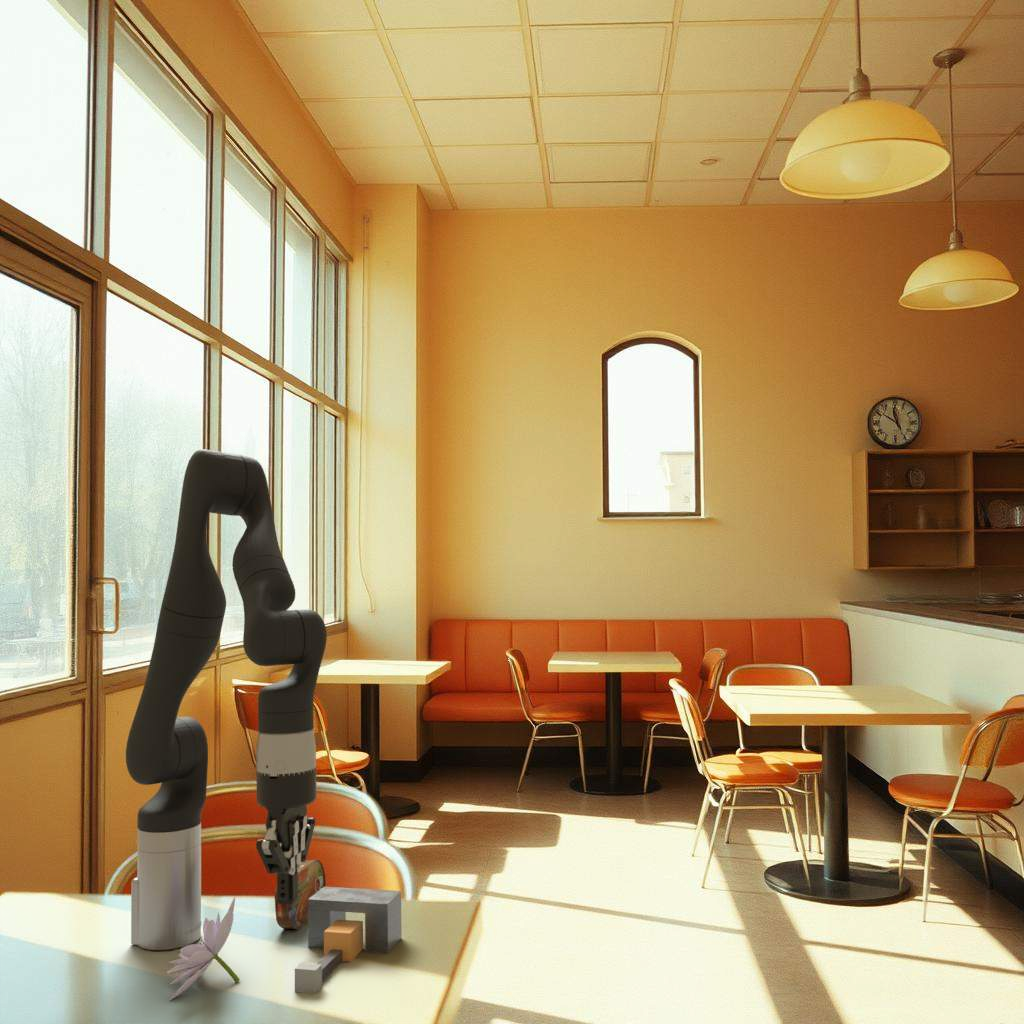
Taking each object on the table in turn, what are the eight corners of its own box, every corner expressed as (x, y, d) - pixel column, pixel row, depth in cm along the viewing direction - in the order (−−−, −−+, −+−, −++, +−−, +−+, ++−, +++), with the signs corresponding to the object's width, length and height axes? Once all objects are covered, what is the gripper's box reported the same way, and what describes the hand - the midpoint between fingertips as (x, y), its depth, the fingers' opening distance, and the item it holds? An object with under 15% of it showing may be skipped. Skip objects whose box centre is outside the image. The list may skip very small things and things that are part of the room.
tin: (290, 937, 153) (289, 881, 154) (271, 936, 154) (270, 880, 154) (327, 904, 168) (327, 853, 168) (309, 903, 169) (309, 852, 169)
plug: (291, 991, 133) (291, 960, 134) (337, 946, 149) (337, 919, 149) (319, 993, 133) (319, 962, 133) (363, 948, 148) (362, 921, 148)
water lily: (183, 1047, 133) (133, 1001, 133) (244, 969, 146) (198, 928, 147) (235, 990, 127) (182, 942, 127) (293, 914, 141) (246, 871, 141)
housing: (308, 947, 149) (307, 899, 149) (324, 932, 155) (324, 886, 155) (388, 953, 146) (387, 904, 146) (401, 938, 152) (401, 891, 152)
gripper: (282, 755, 137) (283, 885, 136) (234, 775, 124) (235, 919, 123) (333, 756, 135) (335, 887, 134) (291, 776, 122) (292, 922, 121)
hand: (287, 902), depth 128 cm, fingers closed
